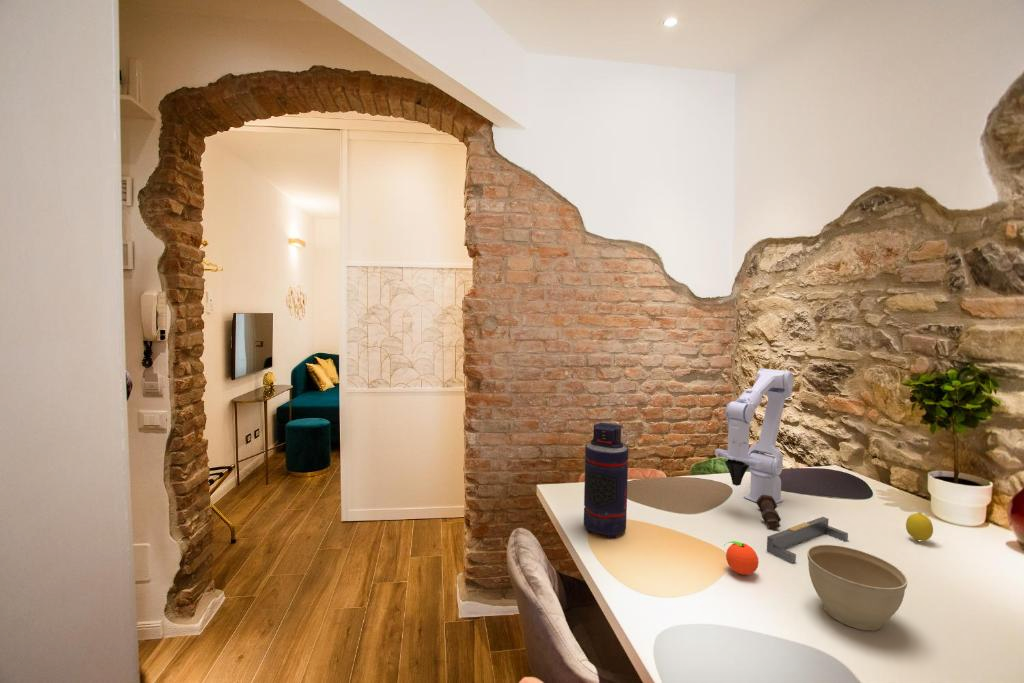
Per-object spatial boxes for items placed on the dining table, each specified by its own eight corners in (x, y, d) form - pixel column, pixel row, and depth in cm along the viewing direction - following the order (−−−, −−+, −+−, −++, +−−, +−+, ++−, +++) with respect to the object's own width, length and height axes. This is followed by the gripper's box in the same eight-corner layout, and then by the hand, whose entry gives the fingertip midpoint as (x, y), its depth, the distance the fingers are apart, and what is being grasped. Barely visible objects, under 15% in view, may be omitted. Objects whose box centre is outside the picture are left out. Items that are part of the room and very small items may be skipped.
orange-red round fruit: (715, 568, 109) (716, 540, 109) (729, 559, 113) (731, 532, 113) (749, 584, 103) (750, 554, 102) (763, 574, 107) (764, 545, 107)
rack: (822, 530, 130) (822, 515, 130) (847, 540, 124) (848, 525, 124) (766, 551, 117) (767, 535, 117) (792, 563, 112) (792, 547, 112)
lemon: (927, 539, 125) (929, 511, 125) (935, 548, 120) (937, 519, 120) (901, 534, 128) (903, 507, 127) (909, 543, 123) (911, 514, 122)
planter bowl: (878, 655, 81) (881, 597, 81) (788, 604, 96) (791, 554, 95) (920, 628, 89) (923, 574, 88) (831, 584, 103) (833, 538, 103)
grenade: (618, 543, 121) (621, 432, 119) (576, 532, 127) (579, 426, 125) (633, 523, 132) (636, 422, 131) (595, 514, 139) (597, 417, 137)
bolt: (769, 536, 130) (763, 513, 144) (787, 531, 128) (779, 508, 142) (758, 517, 131) (753, 497, 144) (776, 512, 129) (769, 491, 142)
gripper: (709, 436, 143) (707, 479, 144) (752, 449, 130) (750, 495, 131) (723, 434, 146) (722, 475, 147) (767, 446, 133) (765, 491, 134)
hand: (736, 484), depth 139 cm, fingers closed
